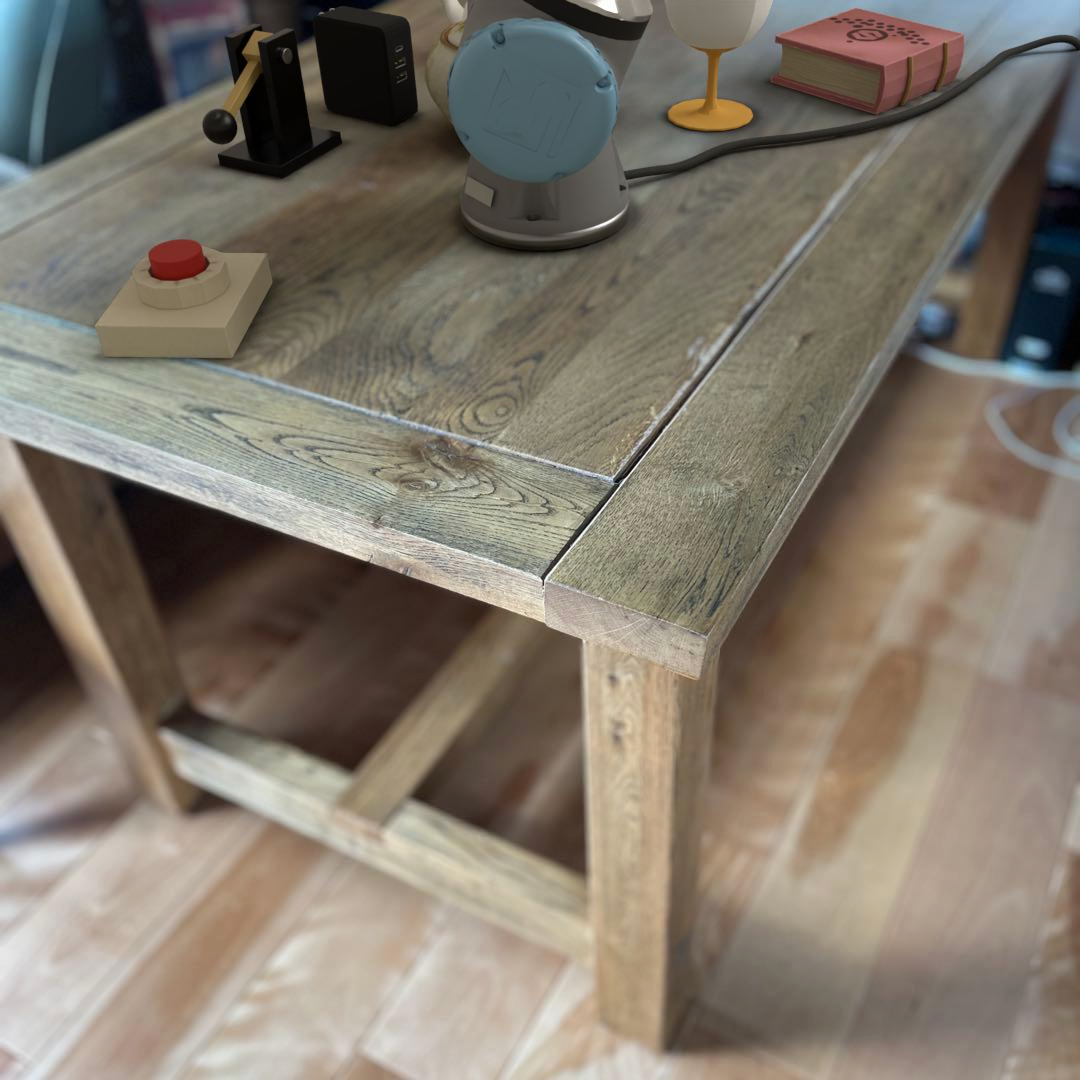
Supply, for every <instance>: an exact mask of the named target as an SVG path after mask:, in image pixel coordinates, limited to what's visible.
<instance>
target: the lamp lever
mask: <svg viewBox="0 0 1080 1080" xmlns="http://www.w3.org/2000/svg"><path fill="white" fill-rule="evenodd" d="M273 34H274V33H273V32H266V31H263V32H261V31H254V33H253V35H252V36H251V38H250V40H249V41H248V43H247V45H246V47H245V48H244V50H243V52H242V54H243V56H244V57H245V59H246V60H247V62H248V63H247V65H246V67H245V69H244V70H243V72H242V74H241V75H240V77H239V79H238V81H237V82H236V84H235V86H233V88H232V89H231V91H230V93H229V94H228V96H227V98H226V100H225V101H224V103H223V105H222V106H221V108H213V109H211V110H209V111H208V112H206V113H205V115H204V116H203V119H202V124H201V125H202V131H203V134H204V135H205V137H206V138H207V139H208V140H209V141H210V142H212V143H213V144H215V145H221V146H222V145H227V144H230V143H231V142H233V140H234V139H235V138H236V136H237V134H238V123H237V121H236V120H237V119H236V116H237V114H238V112H240V110H239V109H240V108H241V106H242V104H243V102H244V101H245V99H246V97H247V95H248V94H249V92H250V90H251V89H252V87H253V85H254V83H255V82H256V80H257V78H258V76H259V75H260V73H263V69H262V63H261V58H260V53H259V47H258V41H260V40H262V39H264V38H266V37H269V36H271V35H273Z"/></svg>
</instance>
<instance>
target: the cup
mask: <svg viewBox="0 0 1080 1080" xmlns="http://www.w3.org/2000/svg"><path fill="white" fill-rule="evenodd" d="M773 2H774V0H664V6H665V9H666V15H667V19H668V22H669V24H670V26H671V28H672V30H673V32H674V34H675V36H676V37H677V38H678V39H679V40H680V41H681V42H682V43H684V44H685V45H687V46H689V47H691V48H693V49H695V50H697V51H700V52H703V53H705V54H706V56H707V82H706V83H707V84H706V93H705V98H695V99H690V100H684V101H681V102H679V103H676V104H674V105H672V106H671V108H669V110H668V111H667V118H668V120H669V121H670V122H672V123H673V124H674V125H676V126H678V127H681V128H683V129H687V130H691V131H699V132H725V131H729V130H731V131H732V130H735V129H738V128H741V127H744V126H745V125H748V124H749V123H750V122H751V121H752V119H753V118H754V114H753V112H752V110H751V108H749V107H748V106H746V105H745V104H743V103H740V102H737V101H733V100H730V99H721V98H717V97H718V96H717V95H718V92H717V91H718V74H719V66H720V58H721V56H722V55H723V54H724V53H728V52H730V51H734V50H735V49H738V48H739V47H742V46H744V45H746V44H747V43H749V42H750V41H751V40H752V39H754V37H755V36H756V35H757V34H758V33H759V31H760V29H762V27H763V25H764V24H765V22H766V21H767V19H768V17H769V13H770V11H771V8H772V5H773Z"/></svg>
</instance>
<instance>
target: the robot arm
mask: <svg viewBox="0 0 1080 1080" xmlns="http://www.w3.org/2000/svg"><path fill="white" fill-rule="evenodd" d="M466 2H467V19H466V22H465V26H464V29H463V33H462V37H461V40H460V44H459V48H458V51H457V53H456V55H455V56H454V58H453V61H452V63H451V66H450V69H449V73H448V79H447V86H448V90H447V95H448V100H449V110H450V115H451V119H452V123H453V124H452V123H451V124H452V125H453V128H454V130H455V133H456V135H457V136H458V137H457V138H459V140H460V142H461V143H462V144H463V147H464V148H465V149H466V150H467V152H468V153H469V154H470V156H469V160H468V165H467V168H466V175H465V179H464V183H463V185H462V189H461V194H460V212H461V220H462V224H463V225H464V227H465V228H466V229H467V231H469V232H470V233H471V234H473V235H474V236H475V237H477V238H479V239H481V240H483V241H486V242H487V243H491V244H494V245H497V246H500V247H504V248H511V249H517V250H526V251H554V250H555V251H556V250H565V249H571V248H577V247H582V246H585V245H589V244H592V243H596V242H598V241H601V240H604V239H606V238H608V237H609V236H611V235H613V234H614V233H616V232H618V231H619V230H620V229H621V228H622V227H623V226H624V225H625V224H626V223H627V221H628V219H629V216H630V207H631V206H630V203H631V201H630V199H631V197H630V195H631V194H630V189H629V185H628V181H629V180H635V179H641V178H646V177H653V176H661V175H669V174H674V173H678V172H682V171H685V170H688V169H691V168H693V167H696V166H698V165H700V164H702V163H704V162H707V161H709V160H710V159H713V158H714V157H715V158H716V157H717V156H720V155H723V154H726V153H729V152H733V151H738V150H743V149H748V148H752V147H754V148H755V147H761V146H771V145H782V144H783V145H784V144H791V143H800V142H806V141H812V140H819V139H824V138H825V139H826V138H831V137H837V136H842V135H849V134H855V133H860V132H863V131H868V130H872V129H877V128H881V127H884V126H888V125H891V124H894V123H898V122H901V121H905V120H907V119H910V118H912V117H916V116H918V115H921V114H923V113H926V112H928V111H930V110H932V109H935V108H937V107H939V106H941V105H942V104H944V103H946V102H948V101H950V100H951V99H953V98H954V97H956V96H958V95H960V94H961V93H962V92H964V91H966V90H968V89H969V88H970V87H971V86H973V85H974V84H975V83H977V82H978V81H979V80H980V79H981V78H983V77H984V76H985V75H987V74H989V73H990V72H991V71H992V70H994V69H995V68H996V67H997V66H998V65H999V64H1000V63H1001V62H1003V61H1004V60H1006V59H1008V58H1010V57H1013V56H1016V55H1020V54H1023V53H1026V52H1029V51H1032V50H1034V49H1035V50H1036V49H1037V48H1041V47H1044V46H1047V45H1052V44H1068V45H1071V46H1072V47H1074V48H1075V49H1076V50H1077V51H1079V52H1080V39H1079V38H1078V37H1076V36H1074V35H1070V34H1056V35H1050V36H1046V37H1045V36H1044V37H1042V38H1039V39H1036V40H1033V41H1029V42H1027V43H1024V44H1021V45H1018V46H1014V47H1011V48H1008V49H1005V50H1003V51H1001V52H999V53H998V54H996V56H994V57H993V58H991V60H990V61H989V62H988V63H986V64H985V65H983V66H982V67H981V68H979V69H978V70H976V71H975V72H974V73H972V74H971V75H969V76H968V77H967V78H965V80H963V81H962V82H960V83H958V84H957V85H955V86H953V87H951V88H950V89H948V90H947V91H945V92H943V93H942V94H940V95H937V96H936V97H934V98H933V99H930V100H928V101H926V102H924V103H921V104H918V105H916V106H913V107H911V108H908V109H905V110H902V111H899V112H895V113H893V114H889V115H885V116H882V117H878V118H873V119H869V120H865V121H860V122H856V123H852V124H846V125H840V126H835V127H829V128H822V129H815V130H808V131H802V132H794V133H787V134H776V135H765V136H757V137H750V138H743V139H739V140H734V141H730V142H726V143H722V144H719V145H716V146H713V147H711V148H709V149H706V150H704V151H702V152H700V153H698V154H696V155H694V156H692V157H689V158H687V159H683V160H681V161H677V162H673V163H668V164H662V165H661V164H660V165H652V166H645V167H639V168H634V169H628V170H624V168H623V164H622V160H621V158H620V154H619V151H618V149H617V145H616V142H615V138H614V135H613V130H614V129H615V125H616V122H617V114H618V113H619V112H618V111H619V109H620V101H619V100H620V92H619V91H620V89H621V86H622V83H623V81H624V79H625V77H626V75H627V72H628V70H629V69H630V65H631V63H632V61H633V58H634V56H635V54H636V52H637V49H638V47H639V45H640V43H641V41H642V39H643V36H644V33H645V31H646V29H647V26H648V25H649V22H650V20H651V18H652V15H653V14H654V13H653V12H654V8H653V4H652V2H651V0H466Z"/></svg>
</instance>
